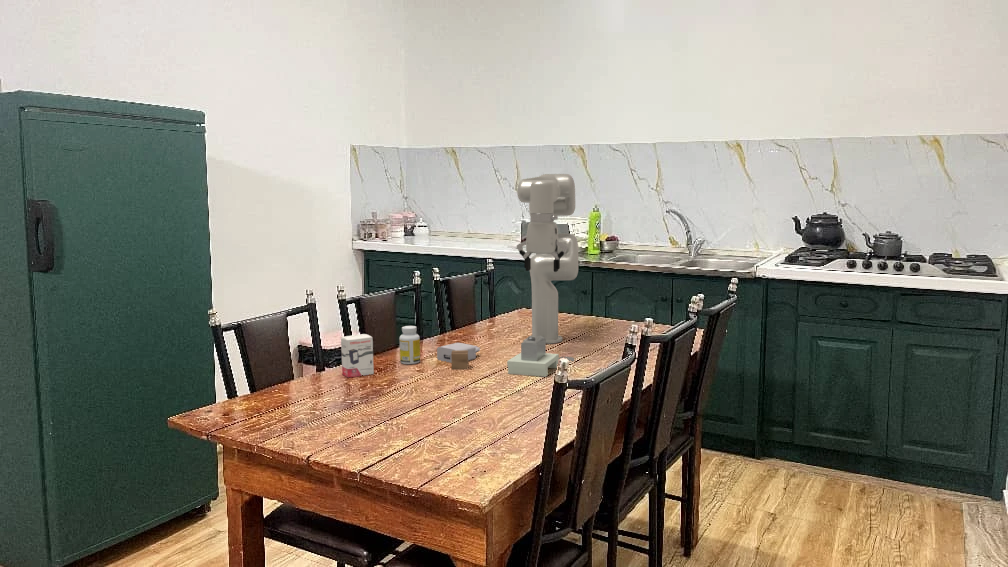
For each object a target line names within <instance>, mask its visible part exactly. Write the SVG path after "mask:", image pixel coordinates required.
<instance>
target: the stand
mask: <svg viewBox="0 0 1008 567" xmlns="http://www.w3.org/2000/svg"><path fill="white" fill-rule="evenodd" d="M559 354H560V353H551V352H546V355H545V356H543V357H542V358H541V359H539V360H538V361H528V360H521V352H520V353H518V354H516V355H515V356H513V357H512V358H510V359H508V360H507V362H506V363H507V364H506V365H507V374H509V375H522V376H532V377H542V378H543V377H545V378H546V377H547V376H548V375H549V374H548V372H549V370H548V369H549V368H550V369H557V364H558V365H559V358H560V357H559Z"/></svg>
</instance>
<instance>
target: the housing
mask: <svg viewBox="0 0 1008 567" xmlns="http://www.w3.org/2000/svg"><path fill="white" fill-rule="evenodd" d="M529 336H530V337H529ZM529 336H528V337H527V338H525V339H523V340H522V342H521V343H520V347H521V349H520V353H521V360H528V361H538V360H539V359H541V358H542V357H543V356H545V355H546V353H547V352H546V350H547V349H546V348H547V347H546V338H544V336H533V335H532V334H531V335H529Z"/></svg>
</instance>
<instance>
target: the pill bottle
mask: <svg viewBox="0 0 1008 567" xmlns="http://www.w3.org/2000/svg"><path fill="white" fill-rule="evenodd" d="M401 331H402V334H401V335H400V336H399V338H398V340H399V361H400V363H401V364H404V365H415V364H419V363H420V362H421V339H420V337H421V336H420V335H419V334H418V333H417V326H415V325H405V326H402V327H401Z"/></svg>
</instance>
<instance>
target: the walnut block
mask: <svg viewBox="0 0 1008 567" xmlns="http://www.w3.org/2000/svg"><path fill="white" fill-rule="evenodd" d="M468 369H469V361H468V350H457V351H452V353H451V370H452V371H454V370H455V371H456V370H468Z"/></svg>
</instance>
